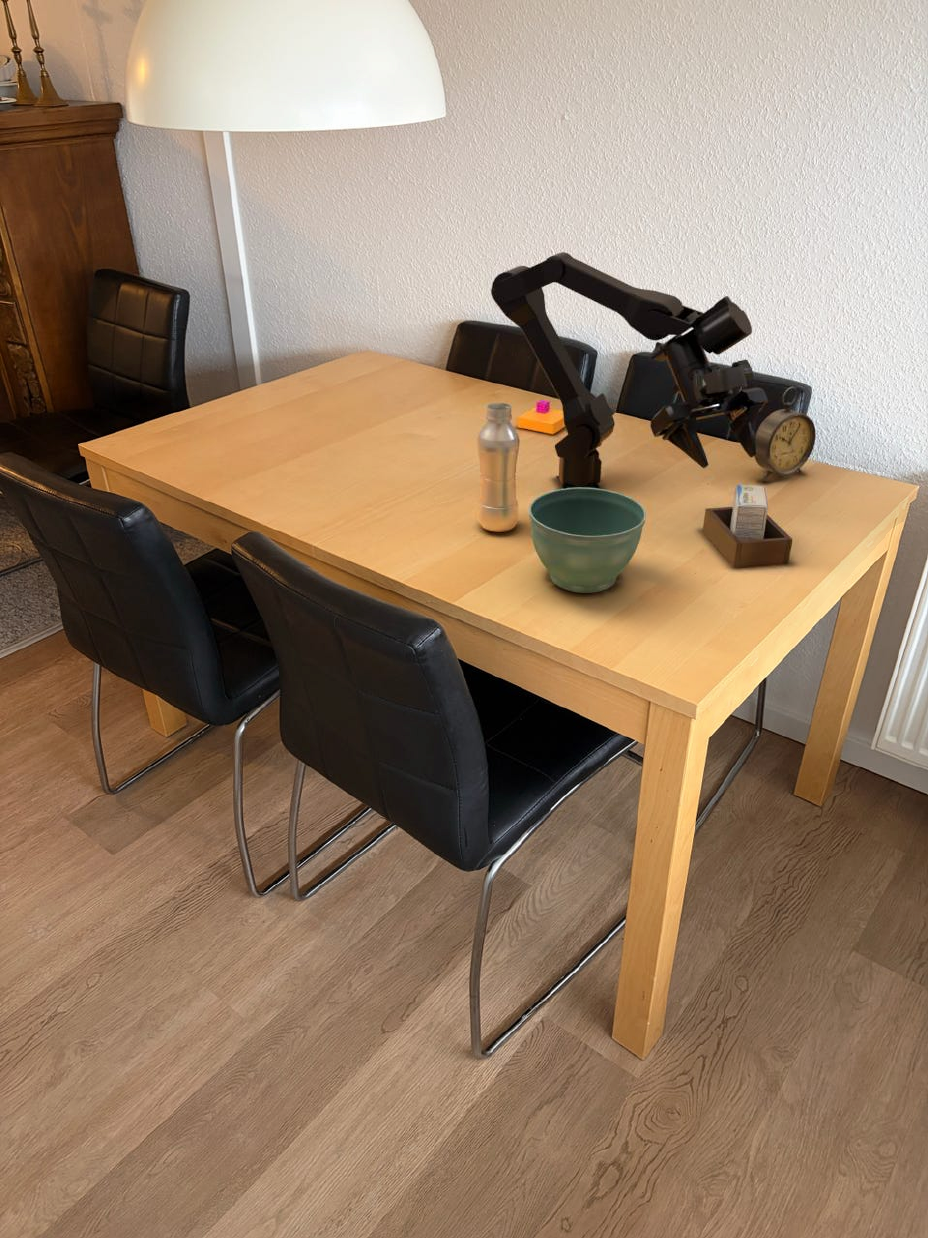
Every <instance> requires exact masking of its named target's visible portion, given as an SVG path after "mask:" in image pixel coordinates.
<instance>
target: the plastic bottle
mask: <svg viewBox="0 0 928 1238" xmlns="http://www.w3.org/2000/svg"><path fill="white" fill-rule="evenodd" d="M485 419H486V420H487V421H486V422H485V424H484V425H483V426H482V427H481V430H480V431H479V432H478V435H477V438H476V439H477V440H476V444H477V451H478V452H477V453H478V459H479V466H480V467H479V468H480V492H479V493H480V494H479V500H478V504H477V511H476V513H477V520H478V523H479V524H480V526H481V527H482V528H483V529H485V530H486V531H490V532H495V533H501V532H502V533H503V532H508V531H511V530H512V529H514V528H515V527H516V526H517V524H518V522H519V518H520V509H519V503H518V502H519V501H518V500H517V488H516V487H517V485H516V477H517V475H516V473H517V463H518V456H519V450H520V441H521V440H520V436H519V433H518V432H517V430H516V428H515V427H514V425H513V424H512V423H511V420H512V419H513V415H512V405H511V404H509V403H505V402H491V403H489V404H487V405H486V414H485Z"/></svg>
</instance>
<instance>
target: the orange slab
mask: <svg viewBox="0 0 928 1238" xmlns="http://www.w3.org/2000/svg"><path fill="white" fill-rule="evenodd" d="M550 404H551V401H550V400H545V399H540V400H538V401H537V402H536V403H535V405H536V406H535V407H533V408H531V409H529V410H528V411H525V412H524V413H522V414H521V415H519V416H517V427H518V429H519V428H520V429H525V430H530V431H534V432H539V433H544V434H549V435H554V434H556V433H557V432H559V431H561V430H563V429H564V428H566V427H565V424H564V417H563V410H560V409H555V408H551V407H550V406H551V405H550Z"/></svg>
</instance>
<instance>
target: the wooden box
mask: <svg viewBox="0 0 928 1238" xmlns="http://www.w3.org/2000/svg"><path fill="white" fill-rule="evenodd" d="M732 511H733V506H723V507H709V508H708V507H707V508H705V509H704V517H703V524H702V533H703V534H704V535H705V536H706V538H707V539H708V540H709V541H710V542H711V543H712V545H713V546H714V547H715V548H716V549H717V550H718V551H719V553H720V554H721V555H722V556H723V557H724V559H725V560H726V561H727V562H728V563H729V564H730V565H731V567H732V568H733V569H735V568H736V569H737V568H745V567H746V568H748V567H760V566H772V565H773V566H774V565H787V564H789V562H790V556H791V550H792V545H793V538H792V537H791V536H790V535H789V534H788V533H787V532H786V531H785V530H784V529H783V528H782V527H781V526H780V525H779V524H778V523H777V522H776V521H775V520H774V519H773V518H772V517H771V516H770V515H769V514H767V517H766V524H765V531H764V538H763V539H759V540H746V541H740V540H739V539H738V538H737V537H736V536H735V535H734V534H733V533H732V532H731V531H730V525H731V517H732Z"/></svg>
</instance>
